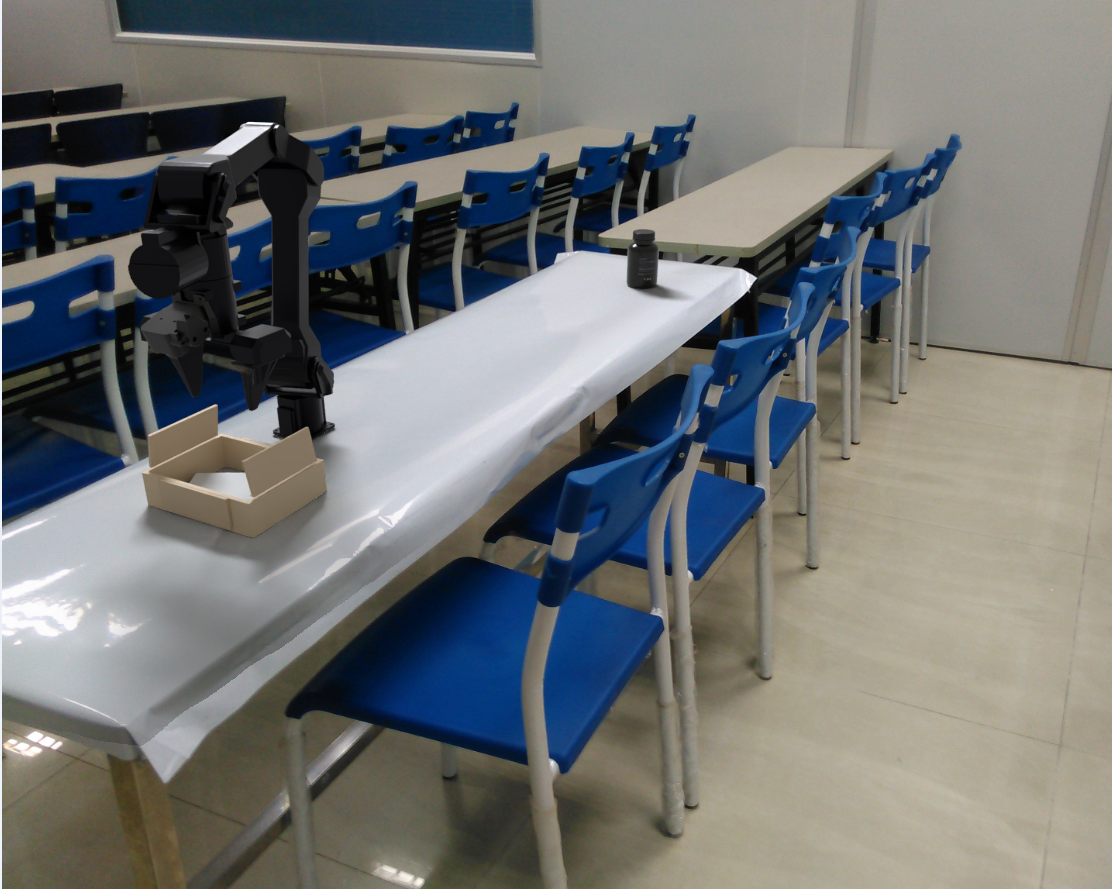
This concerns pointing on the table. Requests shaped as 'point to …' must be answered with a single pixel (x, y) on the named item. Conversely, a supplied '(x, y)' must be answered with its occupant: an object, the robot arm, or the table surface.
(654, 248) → the supplement bottle
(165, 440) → the flap
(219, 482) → the external hard drive
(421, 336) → the table surface
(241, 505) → the carton
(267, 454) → the flap
